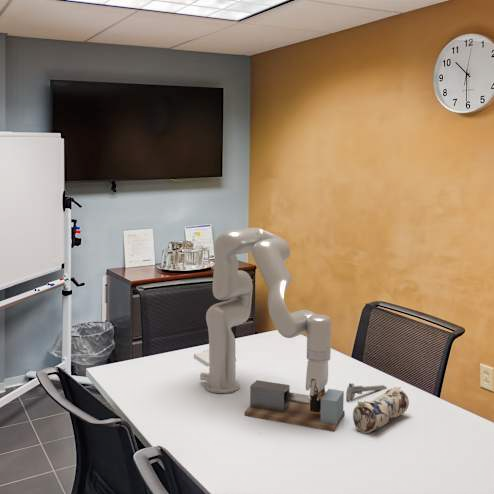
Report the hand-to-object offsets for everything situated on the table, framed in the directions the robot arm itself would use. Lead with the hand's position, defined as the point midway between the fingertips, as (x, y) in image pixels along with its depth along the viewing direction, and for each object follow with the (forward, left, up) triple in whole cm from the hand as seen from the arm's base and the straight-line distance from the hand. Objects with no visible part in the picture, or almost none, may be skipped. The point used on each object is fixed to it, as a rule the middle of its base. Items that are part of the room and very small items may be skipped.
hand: (317, 407), depth 201 cm
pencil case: (+19, +6, -4) cm, 21 cm away
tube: (-4, 0, -1) cm, 4 cm away
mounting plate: (-56, +40, -4) cm, 69 cm away
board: (-8, 0, -4) cm, 9 cm away
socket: (+5, 0, -2) cm, 5 cm away
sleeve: (-16, 0, -2) cm, 16 cm away
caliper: (+11, +27, -4) cm, 29 cm away
